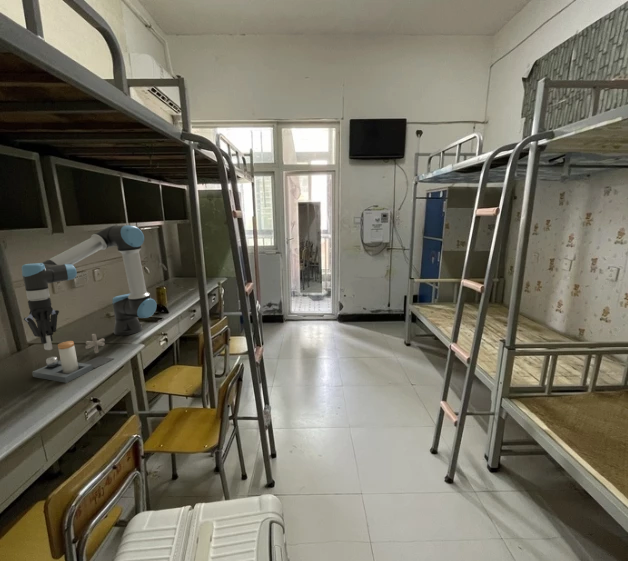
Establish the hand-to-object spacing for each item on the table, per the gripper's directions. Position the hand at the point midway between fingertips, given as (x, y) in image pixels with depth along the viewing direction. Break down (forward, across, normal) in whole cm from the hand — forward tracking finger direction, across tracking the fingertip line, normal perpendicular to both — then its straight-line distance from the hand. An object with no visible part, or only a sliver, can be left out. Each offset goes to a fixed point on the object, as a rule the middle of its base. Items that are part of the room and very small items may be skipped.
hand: (48, 349), depth 141 cm
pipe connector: (+11, -22, 0) cm, 24 cm away
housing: (+11, 0, +6) cm, 13 cm away
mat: (+11, -12, +11) cm, 20 cm away
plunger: (+8, 0, 0) cm, 8 cm away
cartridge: (+11, 0, +11) cm, 16 cm away
